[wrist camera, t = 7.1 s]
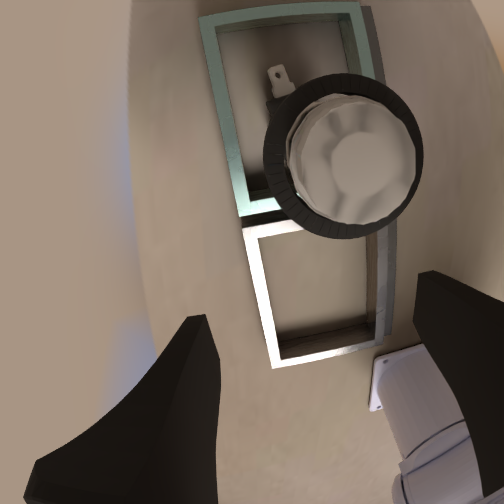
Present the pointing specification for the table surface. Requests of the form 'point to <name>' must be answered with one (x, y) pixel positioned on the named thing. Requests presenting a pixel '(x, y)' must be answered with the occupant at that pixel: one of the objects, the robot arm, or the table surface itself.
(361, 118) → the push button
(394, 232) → the grey teal rectangular frame
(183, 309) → the table surface
